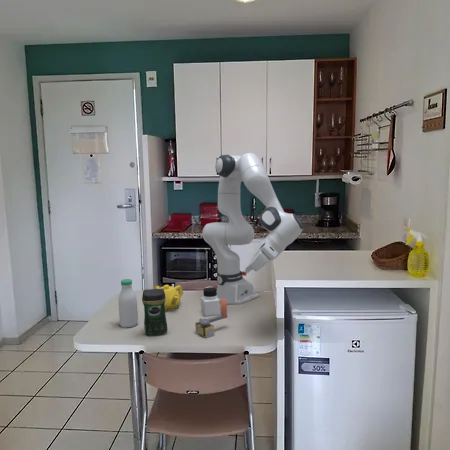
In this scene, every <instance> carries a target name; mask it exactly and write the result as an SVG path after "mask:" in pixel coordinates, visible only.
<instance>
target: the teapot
mask: <svg viewBox="0 0 450 450" xmlns="http://www.w3.org/2000/svg"><path fill="white" fill-rule="evenodd" d="M161 288H163V289H164V292H165V296H166V300H165V304H164V305H165V312H168V310H170V309H174V310H176V309H178V306H179V305H180V304H181V298H182V296H183V295H184V290H183V287H182V285H179V284H177V285H176V286H170V285H169V284H165V285H163V286H161V287H160V286H159V285H156V286H154V289H161Z"/></svg>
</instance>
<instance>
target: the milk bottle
mask: <svg viewBox="0 0 450 450" xmlns="http://www.w3.org/2000/svg"><path fill="white" fill-rule="evenodd" d="M120 286H121V290H120V293H119V296H118V314H119V315H118V316H119V318H118V319H119V326H120V327H122V328H134V327H136V326H137V325H138V324H139V316H138V315H139V314H138V301H137V296H136V293H135V291H134V290H133V280H132V279H130V278H124V279H121V281H120Z"/></svg>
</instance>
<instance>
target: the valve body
mask: <svg viewBox="0 0 450 450" xmlns="http://www.w3.org/2000/svg"><path fill="white" fill-rule="evenodd" d="M194 324H195V333H196V334H197V335H199V336H201V337H202V338H206V339H207V338H211V337H213V336H215V325H214V324H211V323H210V324H209V325H206V326H202V325H200V324H199V321H195V323H194Z"/></svg>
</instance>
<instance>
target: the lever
mask: <svg viewBox="0 0 450 450" xmlns="http://www.w3.org/2000/svg"><path fill="white" fill-rule="evenodd" d="M227 307H228V304H227V300H226V299H221V303H220V314H219V315H214V316H211V317H208V318H201V319H199V320H198V322H199V324H200V325H202V326H206V325H209V324H211V323H214V322H216V321H217V322H218V321H221V320H224V319H227V318H228V308H227Z"/></svg>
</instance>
